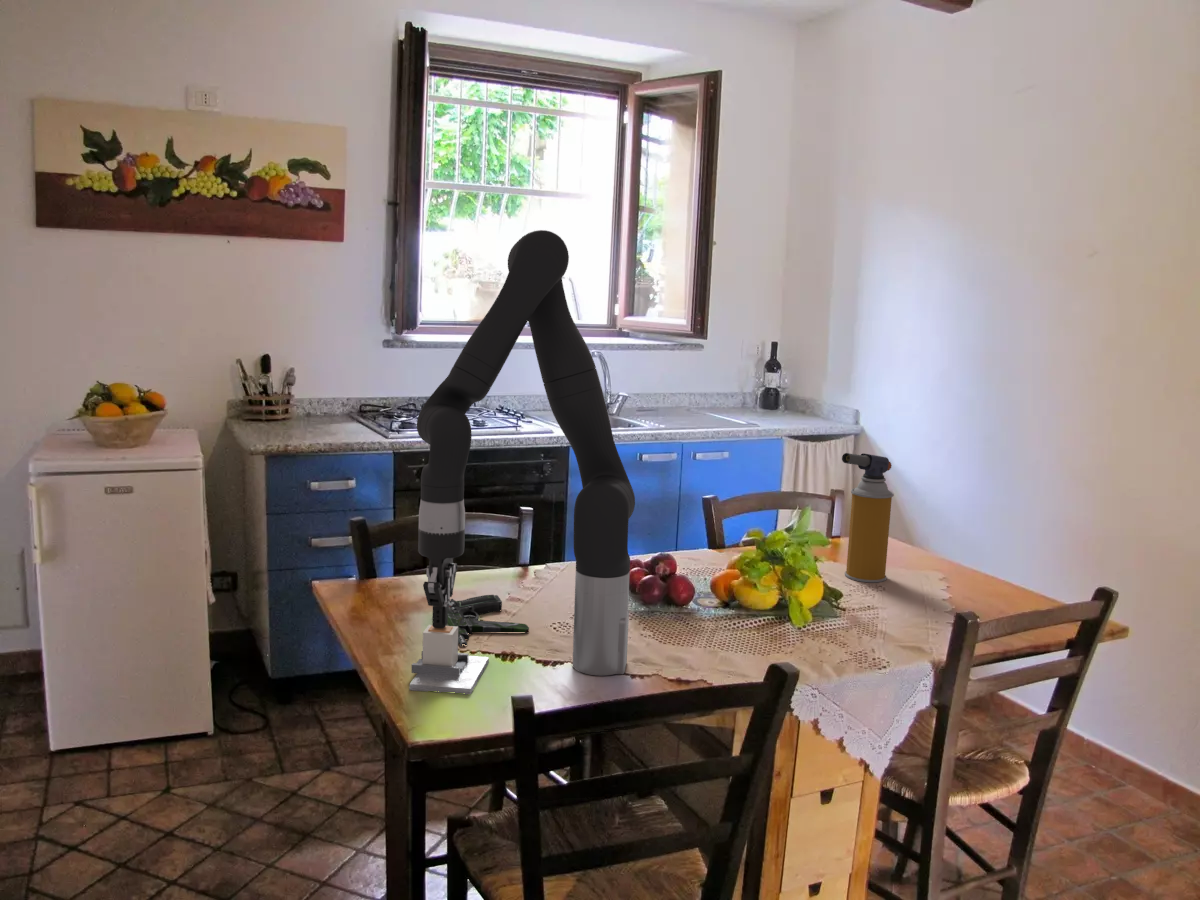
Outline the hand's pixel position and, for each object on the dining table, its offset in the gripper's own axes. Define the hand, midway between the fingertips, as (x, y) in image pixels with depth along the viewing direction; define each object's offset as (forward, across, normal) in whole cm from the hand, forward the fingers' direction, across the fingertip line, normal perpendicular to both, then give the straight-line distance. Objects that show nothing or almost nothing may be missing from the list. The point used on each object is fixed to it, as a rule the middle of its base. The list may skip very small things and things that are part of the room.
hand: (440, 626), depth 173 cm
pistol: (+9, +25, -2) cm, 26 cm away
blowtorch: (+8, +73, -79) cm, 108 cm away
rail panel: (+8, -1, -2) cm, 8 cm away
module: (+6, 0, 0) cm, 7 cm away
